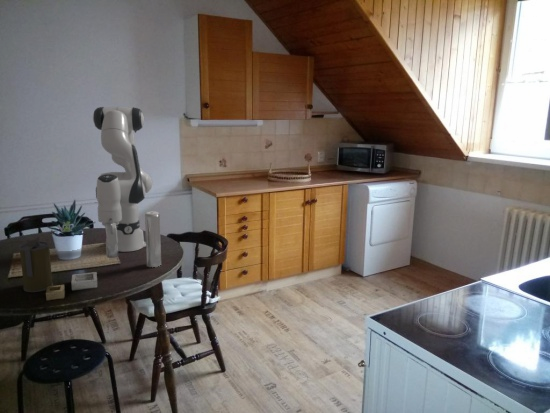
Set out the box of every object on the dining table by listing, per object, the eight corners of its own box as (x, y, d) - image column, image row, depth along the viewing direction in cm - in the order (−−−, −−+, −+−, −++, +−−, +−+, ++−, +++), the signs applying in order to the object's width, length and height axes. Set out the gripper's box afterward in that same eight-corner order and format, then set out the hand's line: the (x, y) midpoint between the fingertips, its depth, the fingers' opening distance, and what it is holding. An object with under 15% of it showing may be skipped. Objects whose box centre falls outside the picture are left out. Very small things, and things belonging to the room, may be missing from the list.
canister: (31, 281, 173) (26, 234, 169) (57, 281, 174) (53, 235, 170) (17, 293, 163) (11, 243, 158) (45, 292, 164) (41, 243, 159)
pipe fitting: (106, 254, 174) (104, 238, 172) (118, 253, 176) (117, 237, 174) (106, 258, 169) (105, 242, 168) (119, 257, 171) (118, 241, 170)
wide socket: (72, 281, 175) (72, 274, 174) (97, 278, 178) (96, 271, 177) (72, 290, 166) (71, 283, 166) (97, 287, 170) (96, 280, 169)
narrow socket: (47, 293, 163) (47, 286, 162) (65, 291, 165) (64, 284, 164) (46, 300, 157) (45, 292, 157) (64, 298, 160) (63, 290, 159)
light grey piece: (157, 268, 191) (155, 214, 186) (144, 266, 193) (141, 213, 187) (163, 263, 198) (162, 211, 192) (150, 261, 199) (148, 210, 193)
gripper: (120, 222, 160) (122, 256, 164) (117, 209, 178) (118, 240, 182) (102, 223, 158) (104, 258, 161) (100, 210, 176) (103, 241, 179)
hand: (112, 248), depth 172 cm, fingers closed on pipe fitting, 4 cm apart
